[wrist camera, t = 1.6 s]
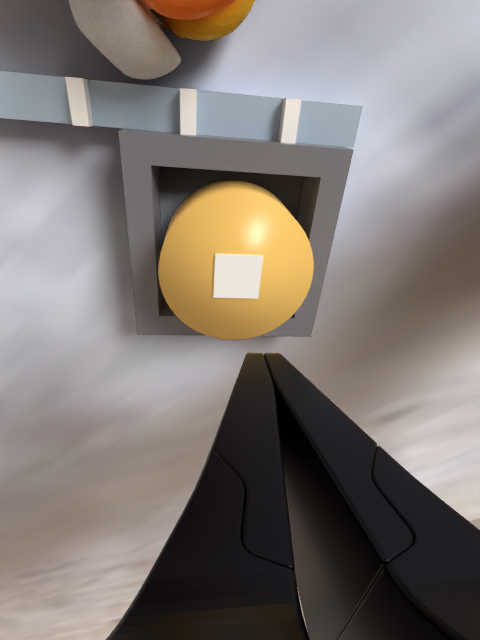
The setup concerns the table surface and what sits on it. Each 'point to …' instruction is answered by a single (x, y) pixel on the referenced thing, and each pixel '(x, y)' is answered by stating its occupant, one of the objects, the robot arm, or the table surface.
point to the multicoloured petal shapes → (153, 29)
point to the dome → (234, 261)
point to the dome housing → (228, 155)
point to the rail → (175, 110)
